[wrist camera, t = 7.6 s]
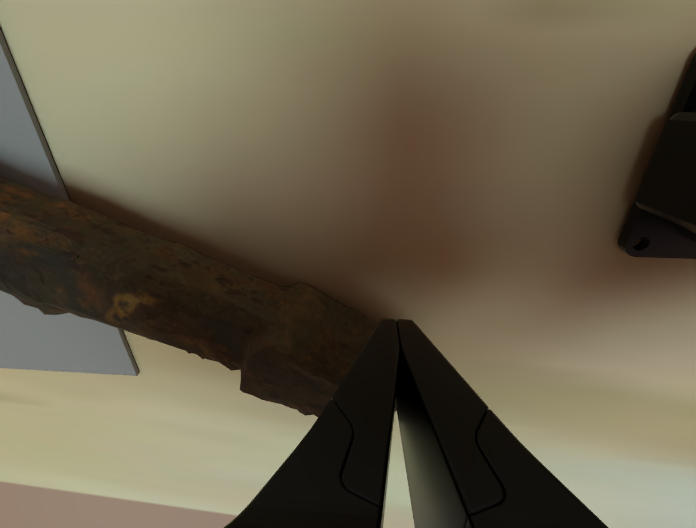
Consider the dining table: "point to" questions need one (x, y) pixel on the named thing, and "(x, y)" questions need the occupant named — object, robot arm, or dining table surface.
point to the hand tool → (177, 298)
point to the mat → (7, 311)
